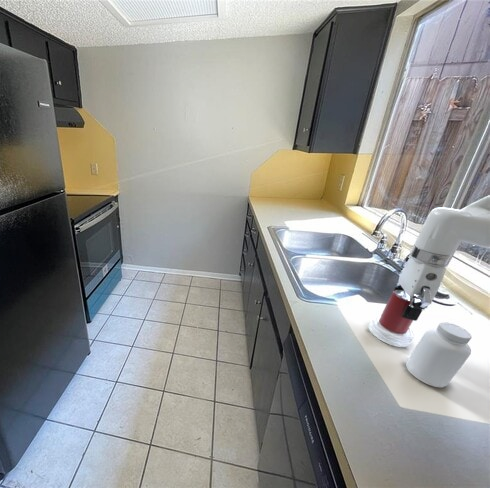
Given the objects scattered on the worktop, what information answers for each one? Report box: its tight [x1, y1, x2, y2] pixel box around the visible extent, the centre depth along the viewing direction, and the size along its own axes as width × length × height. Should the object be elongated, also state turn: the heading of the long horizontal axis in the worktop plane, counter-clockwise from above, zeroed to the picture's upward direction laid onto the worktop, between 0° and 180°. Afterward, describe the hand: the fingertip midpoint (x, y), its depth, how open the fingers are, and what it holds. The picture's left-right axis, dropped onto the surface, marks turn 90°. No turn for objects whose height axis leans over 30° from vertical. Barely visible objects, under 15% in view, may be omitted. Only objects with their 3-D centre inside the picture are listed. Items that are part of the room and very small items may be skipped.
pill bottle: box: [405, 322, 472, 388], centre depth 63 cm, size 8×8×15 cm
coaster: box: [368, 315, 415, 348], centre depth 78 cm, size 10×10×4 cm
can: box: [379, 289, 420, 334], centre depth 75 cm, size 7×7×11 cm
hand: (402, 308), depth 74 cm, fingers open, 9 cm apart
